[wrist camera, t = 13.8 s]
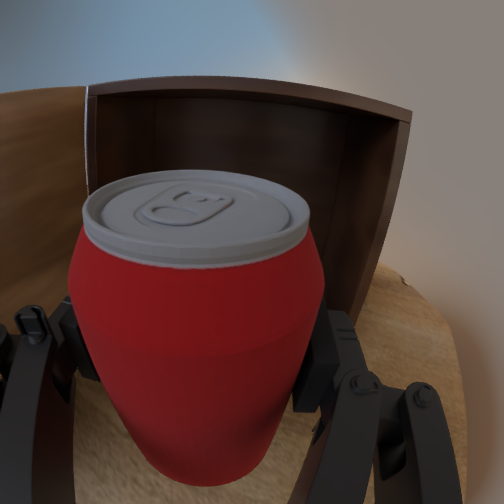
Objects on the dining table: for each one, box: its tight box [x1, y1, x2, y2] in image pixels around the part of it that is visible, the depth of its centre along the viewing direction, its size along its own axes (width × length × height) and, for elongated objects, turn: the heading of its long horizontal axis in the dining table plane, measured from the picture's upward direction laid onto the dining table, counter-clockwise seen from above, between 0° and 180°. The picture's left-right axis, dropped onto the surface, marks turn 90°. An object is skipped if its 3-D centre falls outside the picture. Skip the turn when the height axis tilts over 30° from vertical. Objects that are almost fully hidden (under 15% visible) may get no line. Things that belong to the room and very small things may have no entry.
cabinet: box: [86, 76, 412, 325], centre depth 27 cm, size 14×24×22 cm, turn 88°
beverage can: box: [68, 170, 325, 487], centre depth 9 cm, size 7×7×12 cm
